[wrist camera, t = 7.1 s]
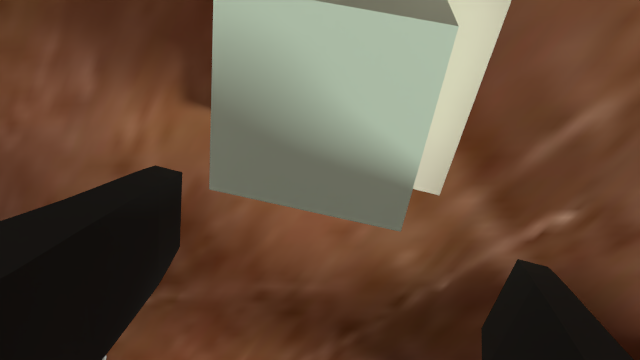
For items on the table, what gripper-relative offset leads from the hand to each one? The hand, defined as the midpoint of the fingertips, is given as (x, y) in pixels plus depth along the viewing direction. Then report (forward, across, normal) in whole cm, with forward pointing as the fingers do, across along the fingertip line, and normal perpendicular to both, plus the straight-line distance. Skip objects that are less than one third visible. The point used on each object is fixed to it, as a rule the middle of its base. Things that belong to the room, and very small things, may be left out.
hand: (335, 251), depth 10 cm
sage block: (+8, +1, -2) cm, 8 cm away
